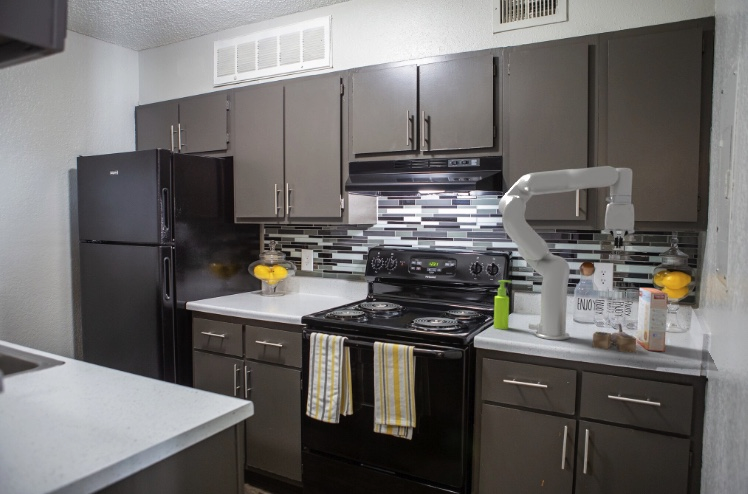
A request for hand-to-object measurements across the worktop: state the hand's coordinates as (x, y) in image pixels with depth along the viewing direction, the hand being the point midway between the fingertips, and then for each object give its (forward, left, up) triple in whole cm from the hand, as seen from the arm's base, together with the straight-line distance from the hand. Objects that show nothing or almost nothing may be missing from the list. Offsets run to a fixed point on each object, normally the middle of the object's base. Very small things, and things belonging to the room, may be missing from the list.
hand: (618, 247), depth 207 cm
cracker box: (+12, -10, -35) cm, 39 cm away
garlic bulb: (+2, -11, -35) cm, 37 cm away
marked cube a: (+4, -20, -35) cm, 41 cm away
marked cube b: (-4, -19, -35) cm, 40 cm away
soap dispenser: (-43, -3, -35) cm, 56 cm away
